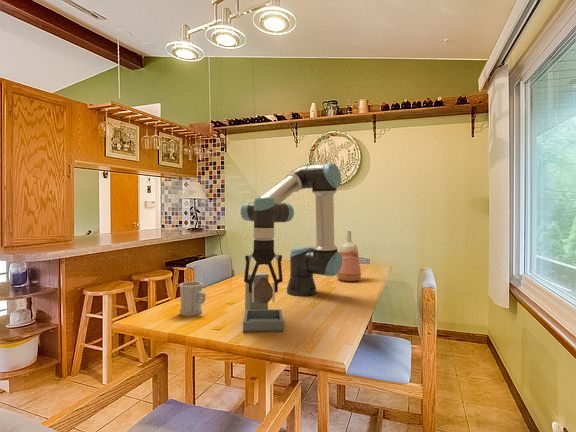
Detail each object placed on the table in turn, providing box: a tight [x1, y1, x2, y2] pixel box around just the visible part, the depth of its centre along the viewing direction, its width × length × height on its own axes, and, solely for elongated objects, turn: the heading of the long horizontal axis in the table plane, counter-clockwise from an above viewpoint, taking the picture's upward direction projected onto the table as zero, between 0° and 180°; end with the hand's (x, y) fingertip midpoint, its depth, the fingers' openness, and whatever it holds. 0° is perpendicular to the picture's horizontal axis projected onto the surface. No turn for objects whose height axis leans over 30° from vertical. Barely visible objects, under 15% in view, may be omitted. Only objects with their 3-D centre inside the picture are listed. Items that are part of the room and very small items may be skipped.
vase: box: [254, 278, 273, 304], centre depth 122 cm, size 7×7×9 cm
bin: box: [242, 308, 284, 333], centre depth 123 cm, size 14×14×4 cm
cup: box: [179, 281, 206, 317], centre depth 136 cm, size 10×9×12 cm
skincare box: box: [244, 272, 269, 311], centre depth 140 cm, size 8×7×16 cm
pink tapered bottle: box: [336, 230, 362, 283], centre depth 199 cm, size 14×14×30 cm
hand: (263, 301), depth 123 cm, fingers closed on vase, 7 cm apart
